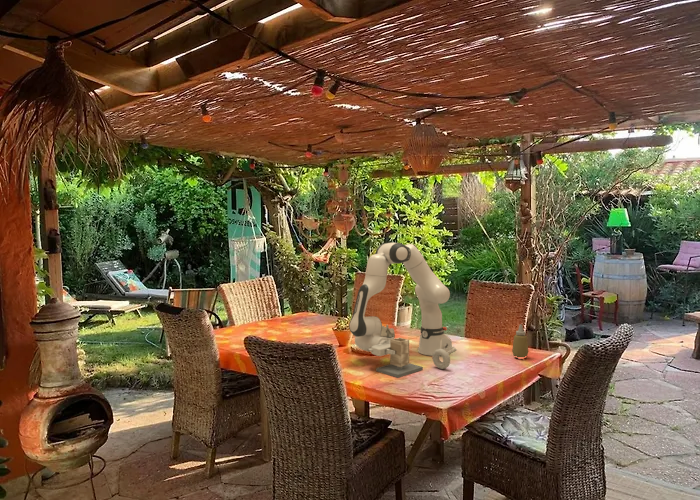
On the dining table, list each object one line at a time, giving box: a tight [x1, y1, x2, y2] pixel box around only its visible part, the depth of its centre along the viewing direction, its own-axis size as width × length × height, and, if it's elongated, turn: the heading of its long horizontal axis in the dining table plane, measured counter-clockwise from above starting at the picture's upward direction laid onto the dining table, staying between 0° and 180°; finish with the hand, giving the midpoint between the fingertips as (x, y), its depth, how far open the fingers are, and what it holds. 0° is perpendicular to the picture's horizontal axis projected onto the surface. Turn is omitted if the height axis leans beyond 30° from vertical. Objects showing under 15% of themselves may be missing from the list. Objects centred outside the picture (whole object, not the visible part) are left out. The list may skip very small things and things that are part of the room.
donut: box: [432, 349, 451, 370], centre depth 252 cm, size 10×4×10 cm, turn 43°
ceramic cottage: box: [380, 324, 396, 339], centre depth 304 cm, size 16×16×15 cm
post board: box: [375, 362, 424, 379], centre depth 249 cm, size 18×14×10 cm
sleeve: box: [389, 337, 410, 367], centre depth 249 cm, size 6×6×12 cm
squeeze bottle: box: [511, 324, 529, 357], centre depth 269 cm, size 8×8×18 cm
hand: (401, 351), depth 248 cm, fingers closed on sleeve, 6 cm apart
